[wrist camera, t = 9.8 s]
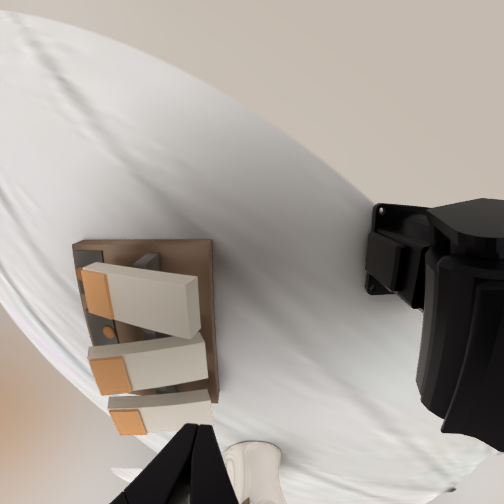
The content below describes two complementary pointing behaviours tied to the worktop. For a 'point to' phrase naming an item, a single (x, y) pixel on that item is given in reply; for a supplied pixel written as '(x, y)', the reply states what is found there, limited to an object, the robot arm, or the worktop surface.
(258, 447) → the beer glass
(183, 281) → the near rocker
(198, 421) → the far rocker
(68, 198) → the worktop surface
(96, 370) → the middle rocker
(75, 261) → the switch unit
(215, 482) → the robot arm
